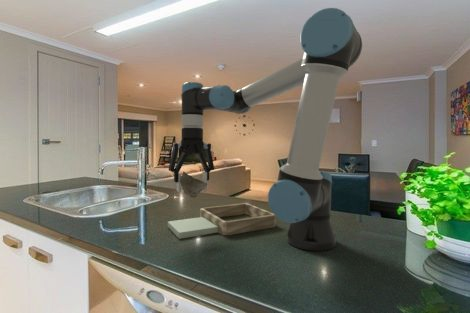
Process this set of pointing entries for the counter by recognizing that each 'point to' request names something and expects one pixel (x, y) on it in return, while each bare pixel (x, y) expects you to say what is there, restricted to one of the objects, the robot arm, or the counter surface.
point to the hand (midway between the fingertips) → (191, 190)
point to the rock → (191, 185)
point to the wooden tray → (257, 222)
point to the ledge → (192, 227)
